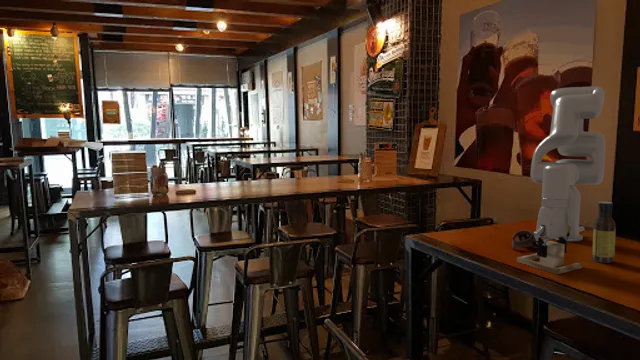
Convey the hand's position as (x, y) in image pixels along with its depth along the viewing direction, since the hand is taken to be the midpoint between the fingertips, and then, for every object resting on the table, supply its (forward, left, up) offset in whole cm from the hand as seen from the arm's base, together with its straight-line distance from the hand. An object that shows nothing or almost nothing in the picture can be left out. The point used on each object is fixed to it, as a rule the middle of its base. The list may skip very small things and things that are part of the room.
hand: (551, 254), depth 145 cm
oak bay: (+1, 0, -3) cm, 3 cm away
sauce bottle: (-18, +6, -4) cm, 19 cm away
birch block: (0, 0, -3) cm, 3 cm away
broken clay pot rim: (-8, -16, -4) cm, 19 cm away
